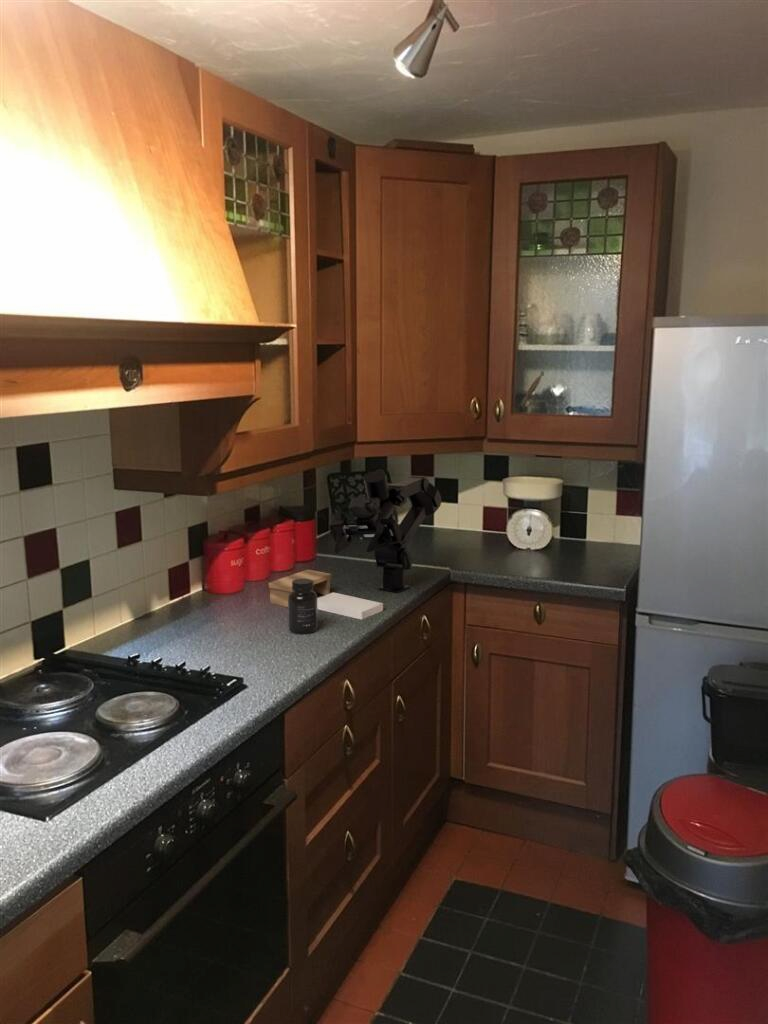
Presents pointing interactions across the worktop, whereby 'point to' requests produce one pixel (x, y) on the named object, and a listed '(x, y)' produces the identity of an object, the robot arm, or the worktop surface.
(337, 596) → the panel
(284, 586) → the oak shelf
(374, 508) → the robot arm
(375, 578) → the worktop surface
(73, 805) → the worktop surface
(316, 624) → the supplement bottle
